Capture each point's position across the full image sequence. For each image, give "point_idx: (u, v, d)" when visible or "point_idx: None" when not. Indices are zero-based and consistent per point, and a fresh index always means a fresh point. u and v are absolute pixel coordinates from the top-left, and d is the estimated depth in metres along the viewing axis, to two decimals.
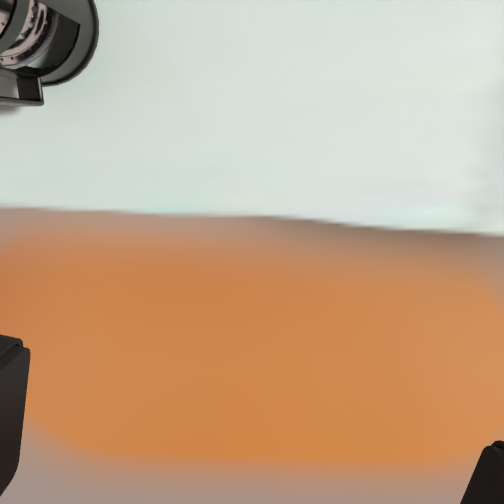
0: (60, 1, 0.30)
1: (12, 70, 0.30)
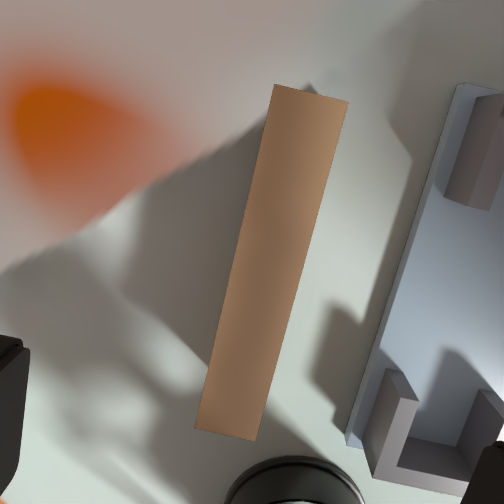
0: None
1: None
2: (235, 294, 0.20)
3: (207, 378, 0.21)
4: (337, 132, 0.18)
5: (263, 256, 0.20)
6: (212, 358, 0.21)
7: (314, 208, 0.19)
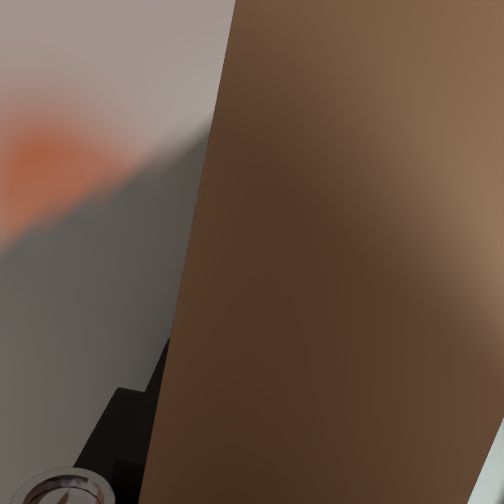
0: None
1: None
2: None
3: None
4: None
5: None
6: None
7: (457, 474, 0.04)
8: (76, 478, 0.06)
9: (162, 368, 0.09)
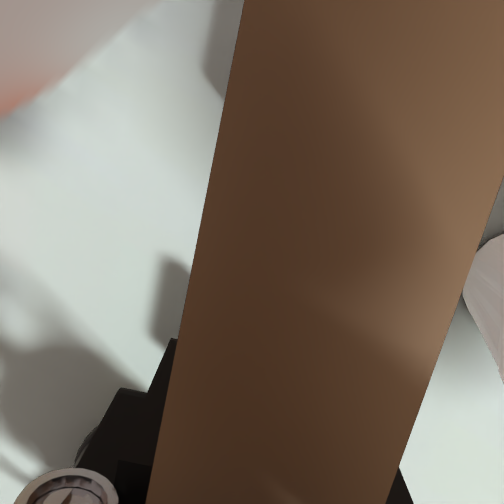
0: None
1: None
2: None
3: None
4: None
5: None
6: None
7: (409, 390, 0.05)
8: (79, 478, 0.06)
9: (164, 368, 0.09)
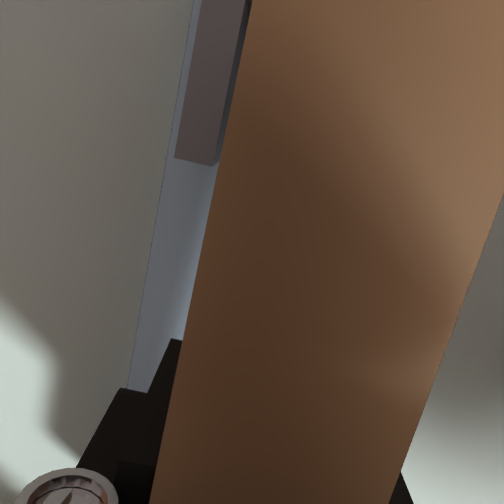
0: None
1: None
2: None
3: None
4: None
5: None
6: None
7: (413, 391, 0.05)
8: (79, 478, 0.06)
9: (164, 368, 0.09)
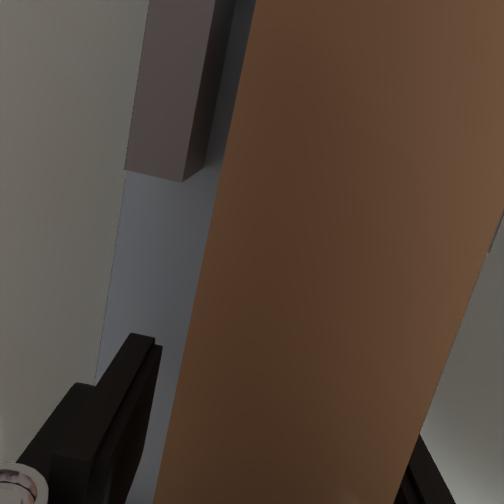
0: None
1: None
2: None
3: None
4: None
5: None
6: None
7: (419, 387, 0.05)
8: (12, 473, 0.06)
9: (118, 362, 0.08)
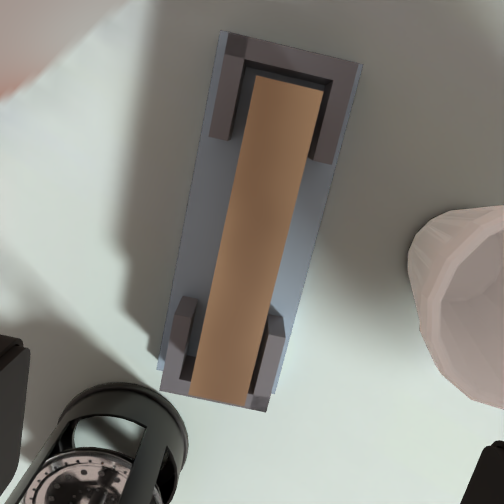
0: None
1: None
2: (224, 269, 0.22)
3: (199, 348, 0.23)
4: (314, 119, 0.20)
5: (249, 234, 0.22)
6: (203, 329, 0.23)
7: (294, 189, 0.21)
8: None
9: None
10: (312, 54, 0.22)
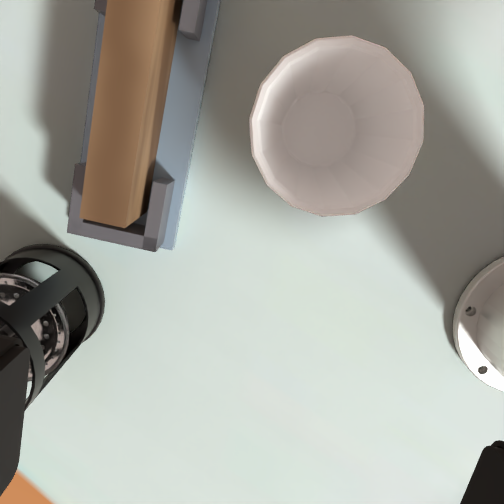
0: None
1: None
2: (100, 107, 0.28)
3: (85, 176, 0.29)
4: None
5: (118, 77, 0.28)
6: (88, 159, 0.29)
7: (151, 38, 0.27)
8: None
9: None
10: None
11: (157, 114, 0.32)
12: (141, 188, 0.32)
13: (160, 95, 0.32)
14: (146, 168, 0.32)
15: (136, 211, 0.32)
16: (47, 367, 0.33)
